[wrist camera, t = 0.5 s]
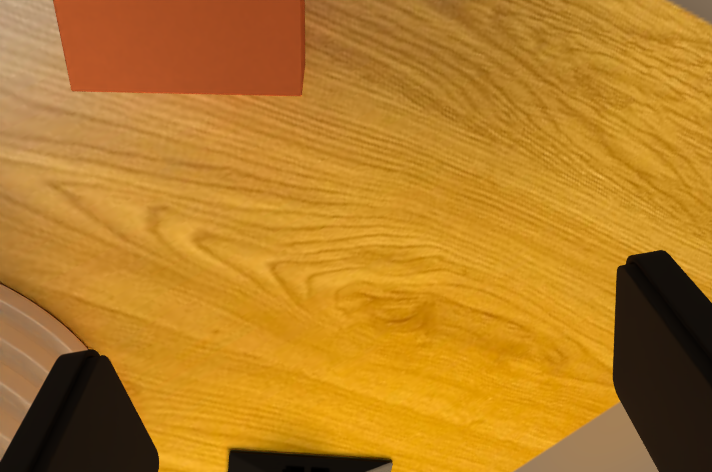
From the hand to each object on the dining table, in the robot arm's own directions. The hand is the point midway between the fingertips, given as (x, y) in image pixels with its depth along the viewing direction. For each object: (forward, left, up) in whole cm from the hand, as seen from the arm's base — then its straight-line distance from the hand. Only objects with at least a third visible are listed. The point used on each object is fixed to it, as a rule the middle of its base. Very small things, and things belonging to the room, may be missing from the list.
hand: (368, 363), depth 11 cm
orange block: (-2, -7, -23) cm, 24 cm away
